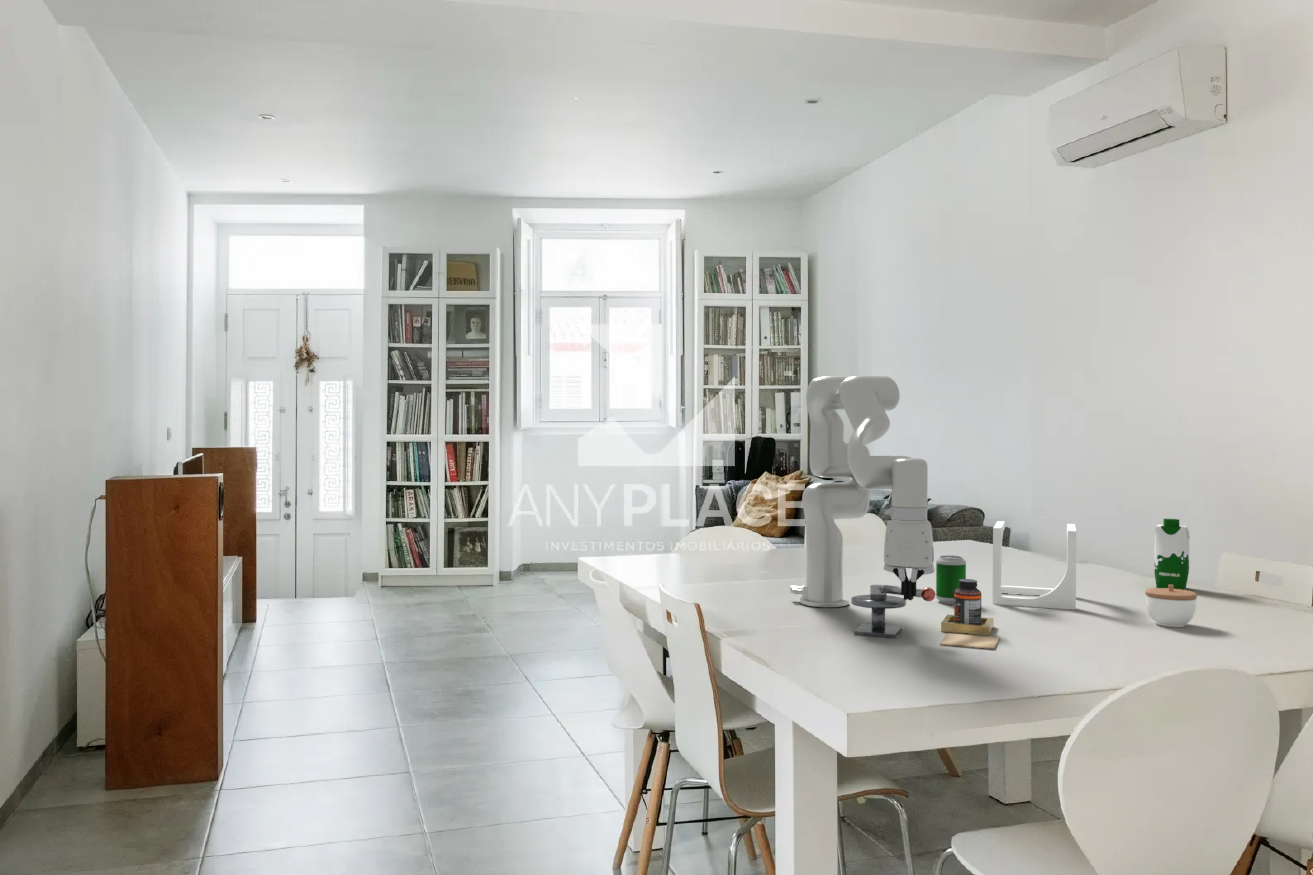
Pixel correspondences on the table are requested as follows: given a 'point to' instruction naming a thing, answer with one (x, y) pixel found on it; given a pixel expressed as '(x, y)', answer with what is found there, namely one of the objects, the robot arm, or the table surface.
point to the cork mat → (970, 641)
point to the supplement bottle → (967, 603)
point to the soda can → (949, 577)
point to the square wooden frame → (967, 626)
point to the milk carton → (1171, 554)
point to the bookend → (1050, 597)
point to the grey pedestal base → (878, 626)
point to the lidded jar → (1171, 606)
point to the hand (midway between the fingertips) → (908, 598)
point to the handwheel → (888, 597)
